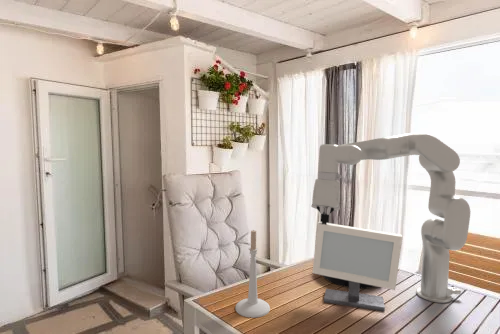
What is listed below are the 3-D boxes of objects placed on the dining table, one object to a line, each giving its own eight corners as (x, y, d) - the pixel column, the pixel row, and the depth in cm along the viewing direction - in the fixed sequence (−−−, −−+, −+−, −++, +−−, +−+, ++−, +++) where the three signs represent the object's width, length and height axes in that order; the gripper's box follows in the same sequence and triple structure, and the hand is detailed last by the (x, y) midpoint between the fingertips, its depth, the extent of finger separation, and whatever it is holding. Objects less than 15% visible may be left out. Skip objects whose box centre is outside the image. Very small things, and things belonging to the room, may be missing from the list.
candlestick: (273, 303, 128) (274, 226, 126) (265, 320, 116) (266, 236, 113) (241, 298, 132) (242, 224, 129) (230, 314, 119) (231, 232, 117)
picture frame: (394, 286, 123) (401, 234, 121) (395, 290, 120) (402, 236, 118) (313, 270, 132) (318, 221, 130) (312, 273, 129) (317, 223, 127)
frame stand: (382, 300, 131) (385, 243, 129) (384, 311, 123) (387, 250, 121) (325, 292, 138) (327, 238, 136) (324, 302, 129) (325, 244, 127)
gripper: (348, 177, 128) (344, 224, 129) (309, 174, 132) (306, 219, 134) (347, 179, 121) (344, 228, 122) (306, 175, 125) (303, 223, 126)
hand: (324, 223), depth 128 cm, fingers closed
